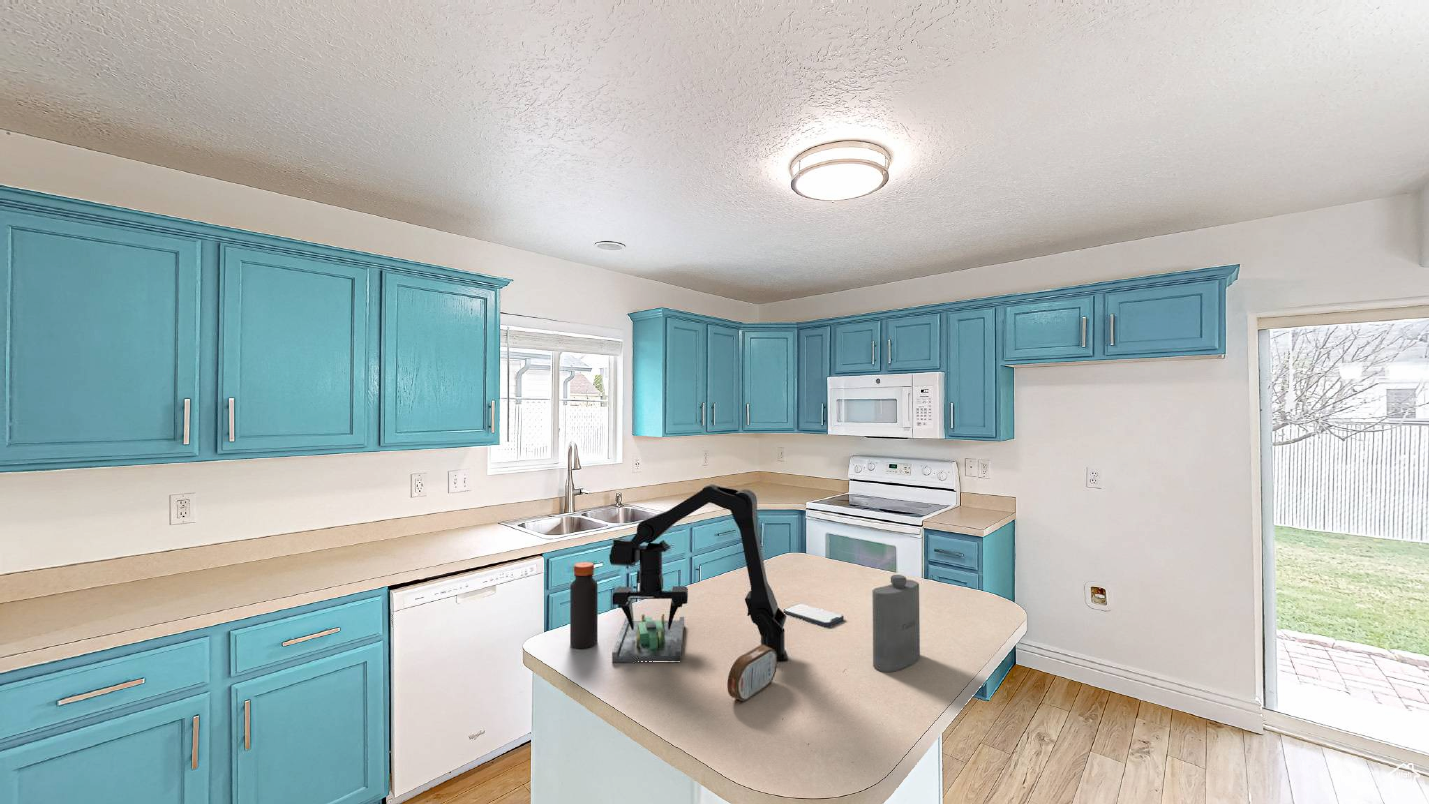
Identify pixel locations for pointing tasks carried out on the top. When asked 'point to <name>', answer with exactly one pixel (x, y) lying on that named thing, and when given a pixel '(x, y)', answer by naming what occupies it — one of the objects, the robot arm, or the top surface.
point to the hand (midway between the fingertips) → (651, 629)
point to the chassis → (634, 651)
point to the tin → (752, 672)
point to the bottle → (583, 607)
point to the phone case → (814, 615)
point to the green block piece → (650, 632)
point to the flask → (896, 624)
